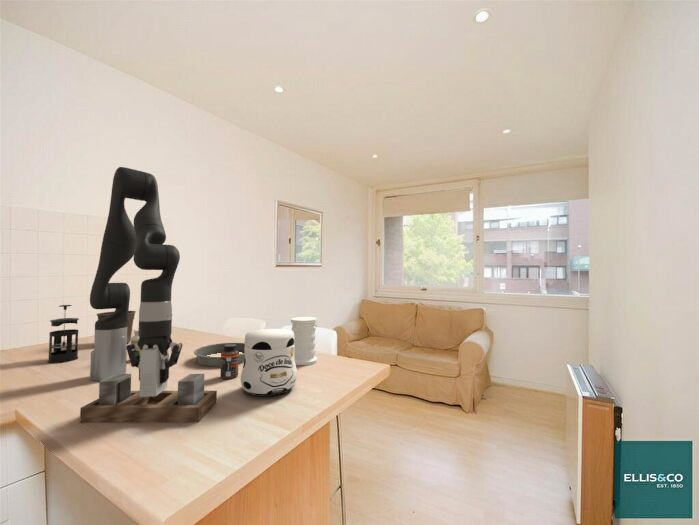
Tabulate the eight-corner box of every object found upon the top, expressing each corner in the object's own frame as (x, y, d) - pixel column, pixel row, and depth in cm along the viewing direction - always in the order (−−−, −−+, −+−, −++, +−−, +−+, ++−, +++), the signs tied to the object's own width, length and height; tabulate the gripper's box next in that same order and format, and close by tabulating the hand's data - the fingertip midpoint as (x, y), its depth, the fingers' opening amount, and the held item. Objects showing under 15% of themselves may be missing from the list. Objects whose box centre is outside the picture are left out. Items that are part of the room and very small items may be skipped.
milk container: (277, 404, 87) (278, 340, 88) (228, 395, 93) (229, 336, 94) (306, 384, 104) (306, 330, 104) (263, 377, 110) (263, 326, 110)
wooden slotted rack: (79, 422, 76) (81, 384, 76) (112, 403, 87) (114, 370, 87) (198, 422, 77) (199, 384, 77) (216, 403, 88) (217, 370, 88)
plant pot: (86, 346, 152) (87, 314, 152) (116, 339, 168) (117, 310, 168) (115, 348, 149) (116, 315, 149) (142, 341, 165) (143, 311, 165)
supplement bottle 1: (129, 359, 130) (130, 329, 131) (147, 356, 135) (148, 327, 135) (131, 363, 125) (132, 331, 126) (150, 360, 130) (151, 329, 130)
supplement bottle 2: (232, 380, 107) (232, 347, 107) (216, 379, 108) (217, 346, 108) (241, 374, 112) (242, 343, 113) (226, 373, 114) (227, 342, 114)
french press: (83, 358, 131) (85, 304, 132) (55, 364, 123) (57, 306, 123) (69, 355, 136) (71, 303, 137) (41, 360, 128) (43, 305, 128)
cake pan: (186, 370, 118) (186, 358, 118) (201, 353, 142) (201, 343, 142) (253, 366, 124) (253, 354, 124) (256, 350, 148) (257, 341, 148)
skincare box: (151, 388, 85) (152, 344, 85) (167, 388, 85) (168, 344, 86) (138, 397, 79) (139, 350, 79) (155, 396, 79) (157, 349, 80)
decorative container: (313, 356, 137) (313, 316, 138) (320, 364, 126) (320, 320, 127) (287, 359, 133) (287, 317, 134) (292, 366, 122) (292, 321, 123)
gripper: (118, 320, 79) (116, 387, 78) (175, 320, 79) (173, 387, 79) (137, 316, 86) (136, 377, 86) (189, 316, 87) (188, 377, 86)
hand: (153, 382), depth 82 cm, fingers closed on skincare box, 4 cm apart
